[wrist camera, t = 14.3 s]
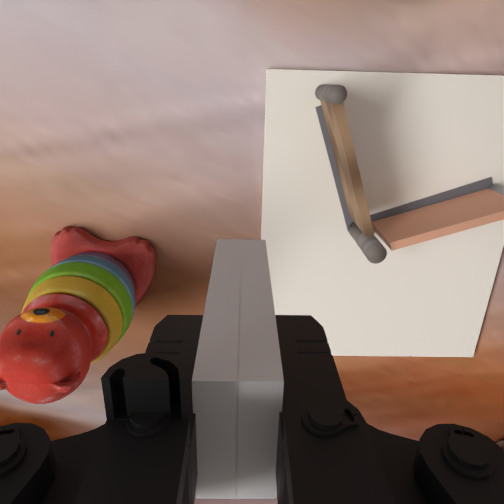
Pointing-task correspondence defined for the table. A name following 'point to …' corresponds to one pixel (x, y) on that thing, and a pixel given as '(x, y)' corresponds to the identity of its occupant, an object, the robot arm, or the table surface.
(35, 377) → the stacking bear
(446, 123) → the board
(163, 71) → the table surface
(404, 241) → the fence panel
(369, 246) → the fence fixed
